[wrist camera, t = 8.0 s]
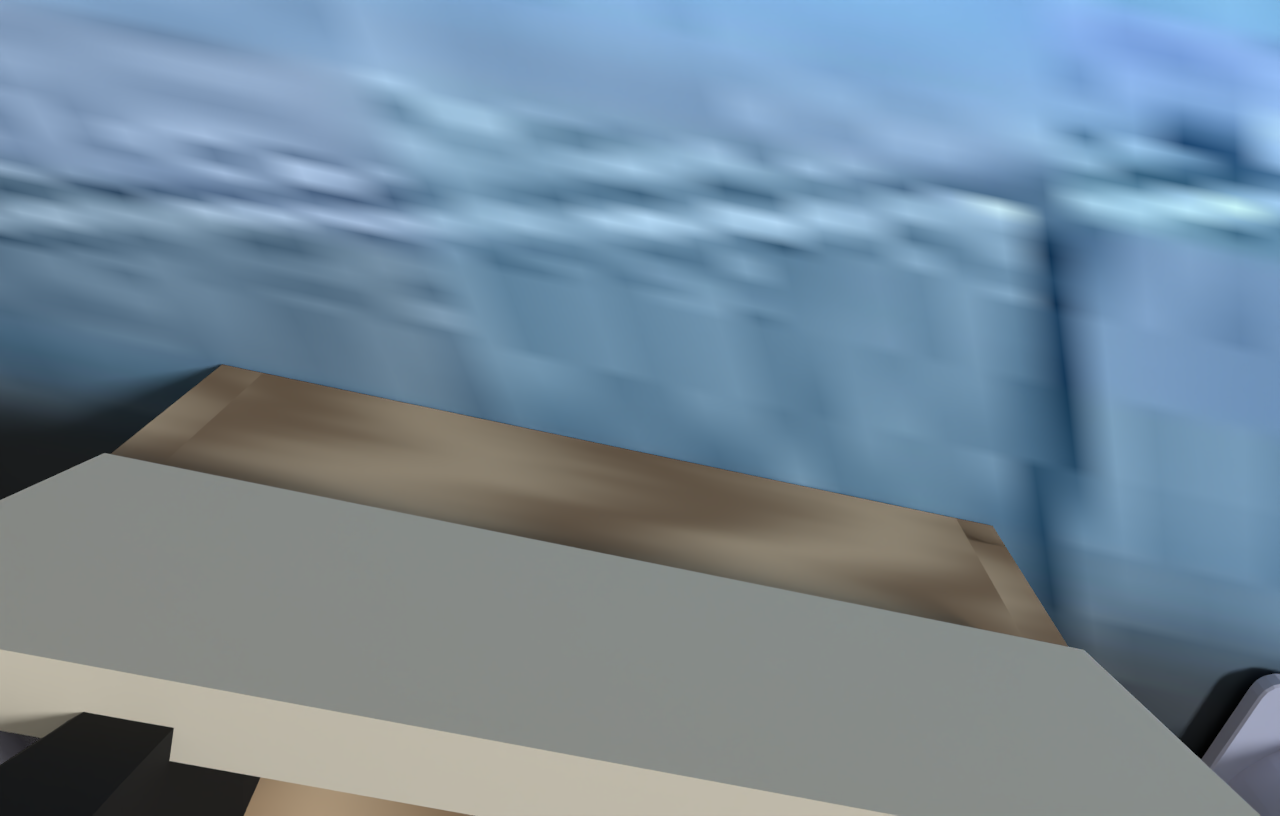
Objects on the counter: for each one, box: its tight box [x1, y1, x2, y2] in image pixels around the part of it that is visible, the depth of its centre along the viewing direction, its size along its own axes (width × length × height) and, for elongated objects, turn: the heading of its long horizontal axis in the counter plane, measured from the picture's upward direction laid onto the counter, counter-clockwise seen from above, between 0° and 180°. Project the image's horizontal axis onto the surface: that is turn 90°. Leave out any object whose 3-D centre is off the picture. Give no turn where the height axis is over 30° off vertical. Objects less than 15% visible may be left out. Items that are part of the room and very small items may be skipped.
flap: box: [0, 453, 1261, 816], centre depth 10 cm, size 15×5×1 cm
